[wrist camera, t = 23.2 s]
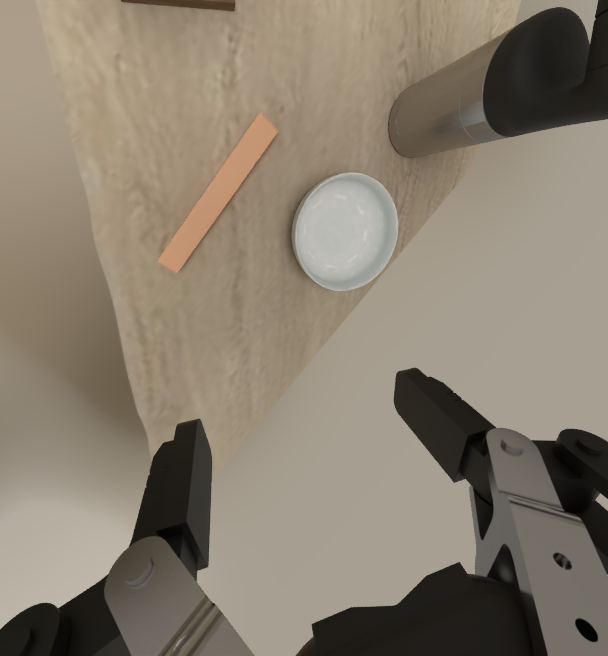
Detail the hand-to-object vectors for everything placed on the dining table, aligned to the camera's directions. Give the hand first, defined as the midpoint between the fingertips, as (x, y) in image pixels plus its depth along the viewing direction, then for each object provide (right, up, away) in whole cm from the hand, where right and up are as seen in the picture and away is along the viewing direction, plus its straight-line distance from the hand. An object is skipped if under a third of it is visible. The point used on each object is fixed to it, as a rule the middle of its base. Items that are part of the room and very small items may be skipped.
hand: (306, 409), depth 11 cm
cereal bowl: (+5, +20, +36) cm, 41 cm away
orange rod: (-13, +22, +29) cm, 39 cm away
